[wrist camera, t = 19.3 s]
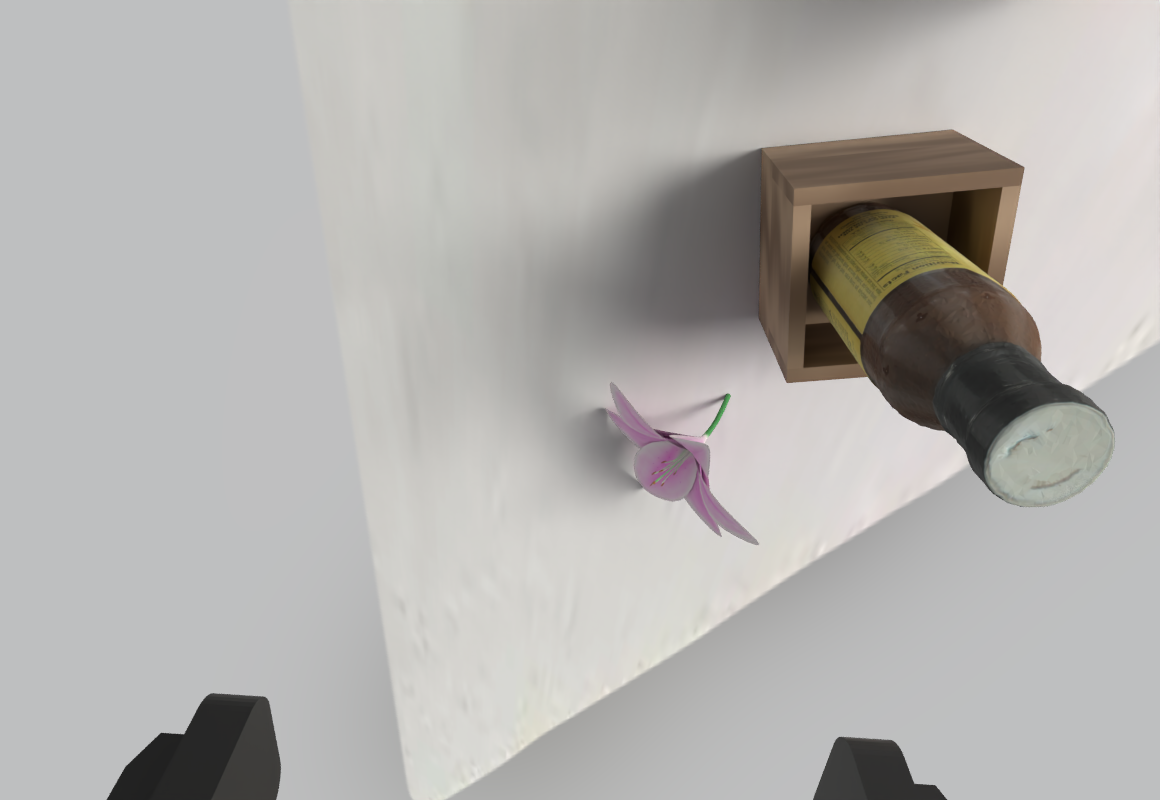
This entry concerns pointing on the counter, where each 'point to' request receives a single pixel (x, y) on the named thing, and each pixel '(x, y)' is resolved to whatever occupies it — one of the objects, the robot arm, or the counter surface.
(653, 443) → the lily
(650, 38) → the counter surface
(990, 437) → the sauce bottle
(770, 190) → the bottle holder
